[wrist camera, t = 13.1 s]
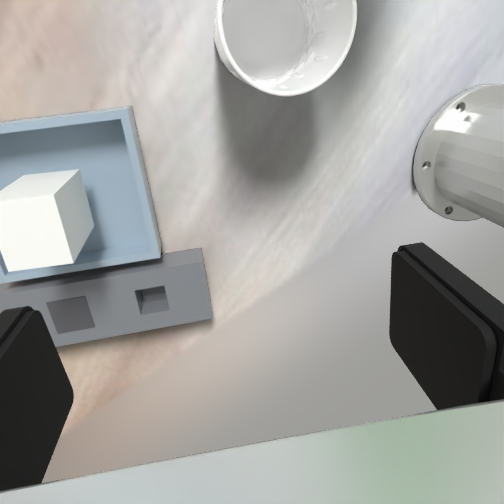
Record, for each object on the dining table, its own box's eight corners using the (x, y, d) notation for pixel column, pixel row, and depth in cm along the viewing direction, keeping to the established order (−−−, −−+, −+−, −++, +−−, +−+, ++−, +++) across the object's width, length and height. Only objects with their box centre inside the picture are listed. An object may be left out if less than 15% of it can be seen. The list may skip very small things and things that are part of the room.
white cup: (214, 95, 32) (228, 104, 23) (197, -21, 29) (206, -64, 20) (308, 83, 33) (357, 87, 24) (303, -31, 30) (357, -77, 21)
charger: (85, 163, 32) (53, 194, 24) (99, 216, 34) (73, 263, 26) (33, 168, 32) (-18, 202, 23) (50, 222, 33) (8, 271, 25)
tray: (131, 106, 31) (127, 109, 29) (161, 244, 36) (160, 257, 34) (-44, 127, 30) (-65, 132, 27) (13, 267, 35) (-1, 283, 32)
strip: (201, 247, 37) (203, 264, 34) (210, 301, 40) (213, 322, 37) (-24, 284, 35) (-45, 305, 32) (1, 338, 38) (-16, 363, 34)
